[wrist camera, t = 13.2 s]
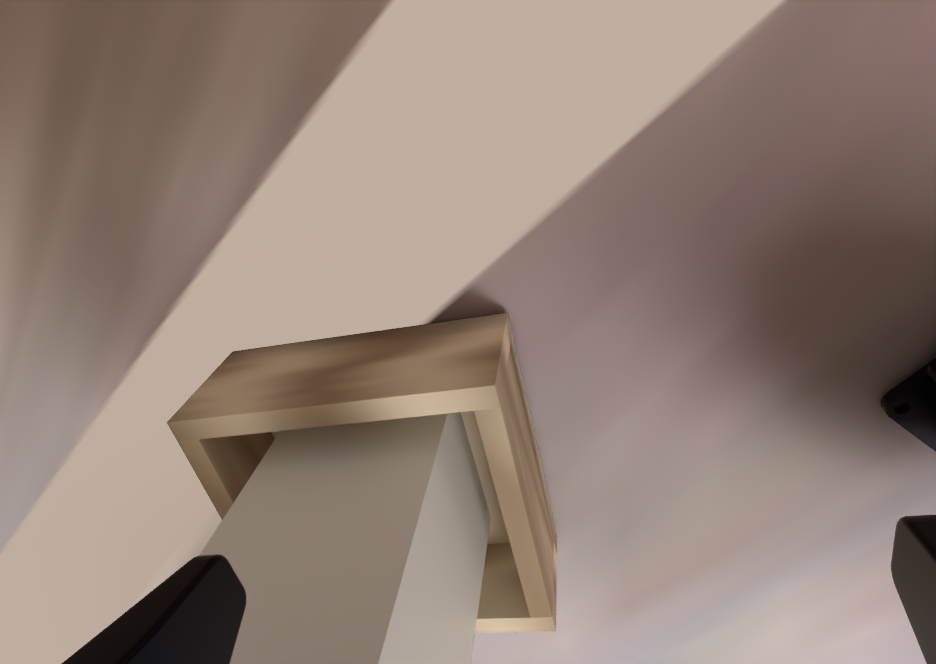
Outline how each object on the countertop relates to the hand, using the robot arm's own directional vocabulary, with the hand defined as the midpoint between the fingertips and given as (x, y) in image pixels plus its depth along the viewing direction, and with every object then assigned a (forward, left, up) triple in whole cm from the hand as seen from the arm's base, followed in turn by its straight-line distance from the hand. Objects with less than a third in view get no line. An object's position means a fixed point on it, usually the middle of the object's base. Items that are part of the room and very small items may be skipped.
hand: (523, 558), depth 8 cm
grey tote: (-1, +11, -12) cm, 16 cm away
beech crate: (-1, +11, -13) cm, 17 cm away
